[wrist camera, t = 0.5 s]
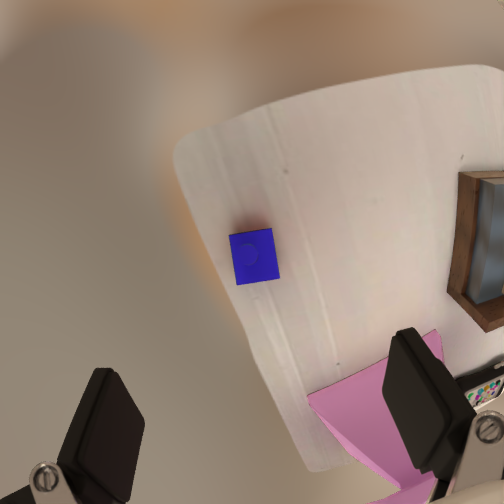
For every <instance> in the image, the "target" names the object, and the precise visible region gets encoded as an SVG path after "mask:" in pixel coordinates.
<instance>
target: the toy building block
mask: <svg viewBox="0 0 504 504" xmlns="http://www.w3.org/2000/svg"><path fill="white" fill-rule="evenodd" d="M229 240H230V246H231V252H232V259H233V265H234V271H235V278H236V284H237V285H242V284H249V283H255V282H261V281H267V280H274V279H279V278H280V275H279V269H278V263H277V257H276V251H275V245H274V239H273V233H272V228H268V229H262V230H256V231H250V232H244V233H238V234H232V235H229Z"/></svg>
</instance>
